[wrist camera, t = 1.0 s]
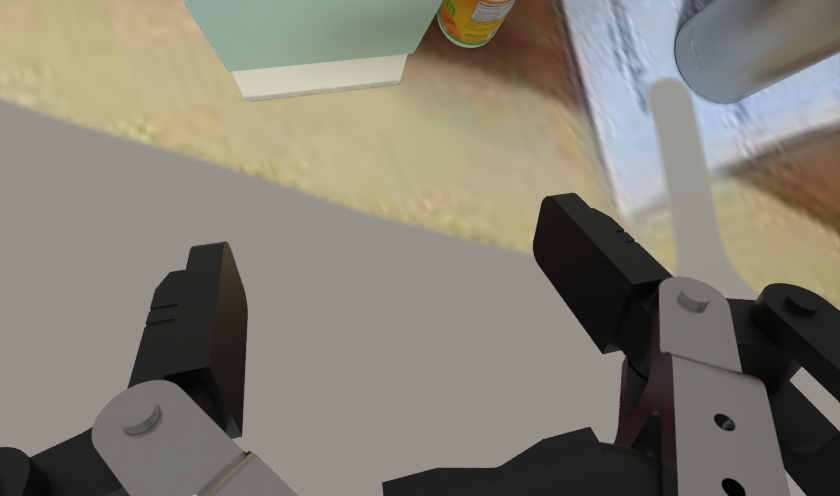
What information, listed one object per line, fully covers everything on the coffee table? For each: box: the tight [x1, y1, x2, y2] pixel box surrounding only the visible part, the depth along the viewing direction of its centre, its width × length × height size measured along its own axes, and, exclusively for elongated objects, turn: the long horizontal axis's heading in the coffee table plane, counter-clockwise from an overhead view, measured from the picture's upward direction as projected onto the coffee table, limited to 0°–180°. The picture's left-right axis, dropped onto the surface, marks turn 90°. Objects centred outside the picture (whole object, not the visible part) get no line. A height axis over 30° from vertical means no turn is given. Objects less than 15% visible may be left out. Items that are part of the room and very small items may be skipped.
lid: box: [182, 0, 443, 72], centre depth 23 cm, size 12×12×1 cm
